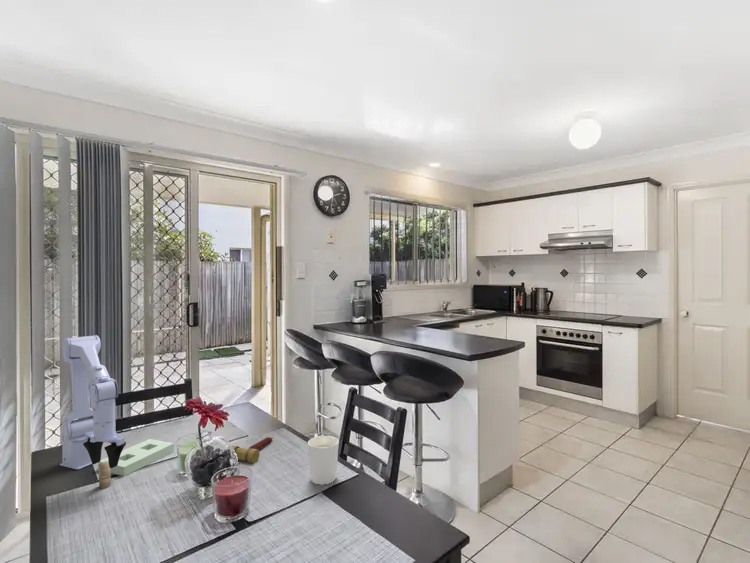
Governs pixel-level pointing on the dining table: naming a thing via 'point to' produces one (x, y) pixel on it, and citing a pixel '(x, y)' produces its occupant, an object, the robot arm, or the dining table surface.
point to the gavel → (251, 451)
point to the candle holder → (323, 459)
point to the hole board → (140, 456)
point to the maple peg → (104, 475)
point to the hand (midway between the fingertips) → (104, 464)
